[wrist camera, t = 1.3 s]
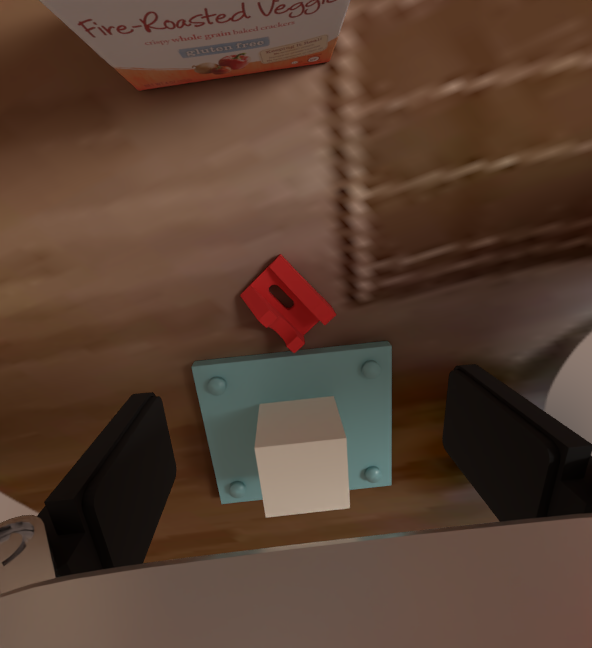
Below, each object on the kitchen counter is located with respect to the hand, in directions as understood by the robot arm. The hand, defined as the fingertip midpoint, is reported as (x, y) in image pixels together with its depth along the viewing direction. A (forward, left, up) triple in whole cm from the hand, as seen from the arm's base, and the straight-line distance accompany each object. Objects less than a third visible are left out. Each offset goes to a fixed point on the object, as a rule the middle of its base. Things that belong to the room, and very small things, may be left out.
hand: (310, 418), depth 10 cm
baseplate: (+1, +13, -18) cm, 23 cm away
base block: (+1, +13, -17) cm, 22 cm away
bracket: (0, 0, -19) cm, 19 cm away
